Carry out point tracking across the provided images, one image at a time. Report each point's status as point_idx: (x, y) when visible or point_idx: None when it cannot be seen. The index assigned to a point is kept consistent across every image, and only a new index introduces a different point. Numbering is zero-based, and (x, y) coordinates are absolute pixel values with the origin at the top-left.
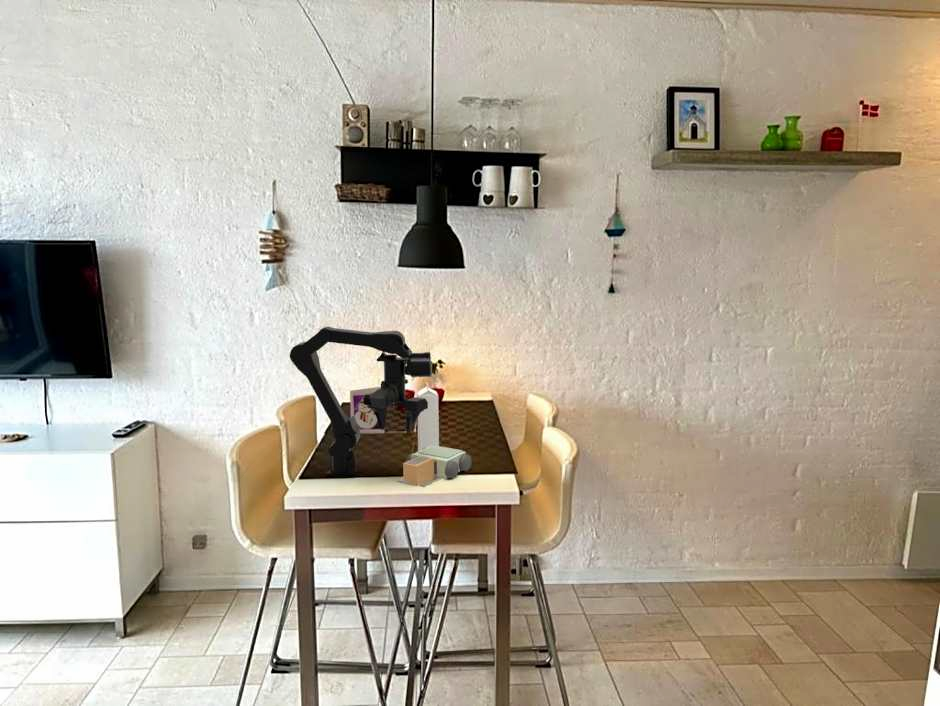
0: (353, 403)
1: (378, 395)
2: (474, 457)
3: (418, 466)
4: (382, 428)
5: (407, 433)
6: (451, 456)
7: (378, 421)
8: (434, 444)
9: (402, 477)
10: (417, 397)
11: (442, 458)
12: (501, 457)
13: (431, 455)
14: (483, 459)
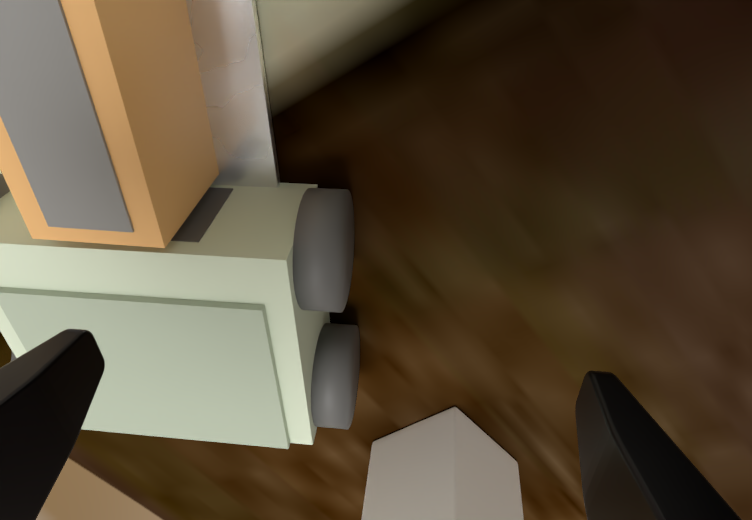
0: None
1: None
2: (212, 462)
3: None
4: (588, 391)
5: (71, 334)
6: (18, 328)
7: (706, 497)
8: (382, 492)
9: (250, 17)
10: None
11: (26, 278)
12: (127, 486)
13: (137, 298)
14: (161, 454)
